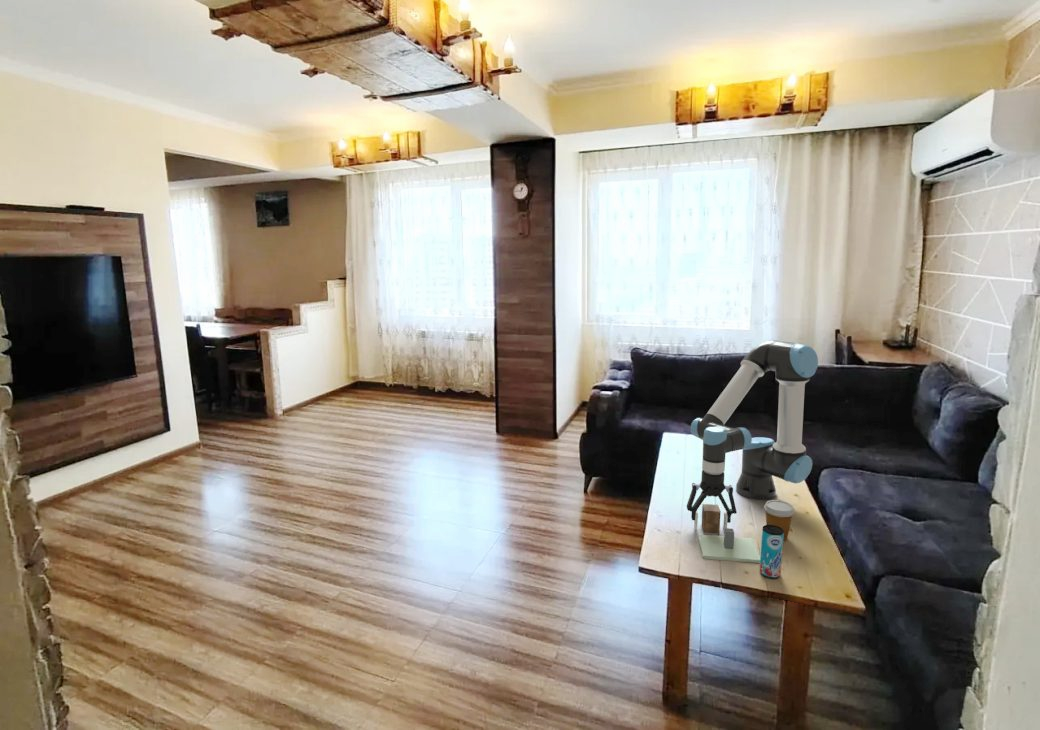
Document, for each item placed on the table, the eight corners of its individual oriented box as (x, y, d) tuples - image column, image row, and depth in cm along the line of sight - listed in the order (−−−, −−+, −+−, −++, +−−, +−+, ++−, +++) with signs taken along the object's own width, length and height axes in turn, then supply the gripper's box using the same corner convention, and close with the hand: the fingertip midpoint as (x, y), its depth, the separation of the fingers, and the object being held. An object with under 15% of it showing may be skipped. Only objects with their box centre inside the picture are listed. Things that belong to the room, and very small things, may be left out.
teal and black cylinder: (762, 578, 164) (765, 533, 161) (757, 568, 170) (760, 524, 167) (783, 580, 163) (786, 534, 160) (777, 569, 169) (780, 525, 166)
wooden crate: (717, 526, 196) (718, 504, 195) (719, 534, 191) (720, 511, 189) (701, 525, 197) (702, 503, 196) (703, 532, 192) (704, 510, 191)
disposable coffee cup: (790, 547, 182) (793, 514, 179) (760, 539, 187) (762, 507, 184) (793, 534, 189) (796, 503, 187) (764, 528, 194) (766, 497, 192)
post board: (752, 541, 186) (753, 522, 185) (761, 563, 172) (763, 543, 171) (697, 537, 189) (698, 518, 188) (703, 558, 176) (704, 538, 175)
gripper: (744, 468, 191) (740, 526, 196) (679, 465, 196) (677, 522, 200) (748, 476, 184) (744, 536, 188) (681, 473, 188) (679, 532, 193)
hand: (710, 529), depth 194 cm, fingers open, 9 cm apart
